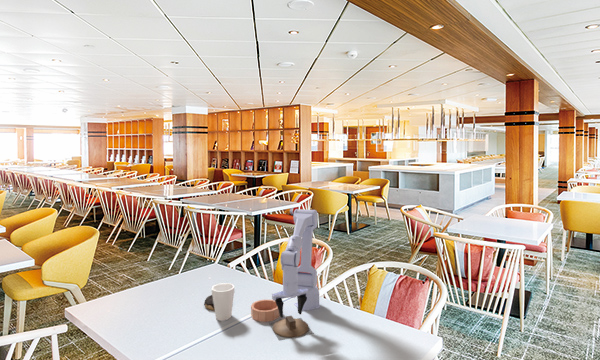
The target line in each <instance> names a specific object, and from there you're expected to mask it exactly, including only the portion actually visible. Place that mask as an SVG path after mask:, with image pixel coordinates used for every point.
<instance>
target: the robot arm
mask: <svg viewBox="0 0 600 360" xmlns="http://www.w3.org/2000/svg"><path fill="white" fill-rule="evenodd" d="M292 215H293V216H292V217H293V222H294V229H293V234H292V235H291V236H290V237H289V239H288V241H287V244H286V247H285V250H283V251H282V252H281V255H280V265H281V271H282V291H279V292H274V293H271V300H273V301H275V302H276V304H277V307H278V310H279V315H280V316H279V318H281V319H284V312H283V311H284V301H283V299H287V298H288V299H289V298H290V299H291V298H292V299H293V298H297V300H296V301H297V302H296V303H295V302H294V306H295V307H296V308H297V313H298V315H302V312H305V311H306V312H307V311H312V310H315V309H320V308H321V306H320V290H319V288H318V271H317V269H316V268H314V266H313V265H312V257H313V256H312V255H313V253H312V252H313V235H314V230H315V229H316V228H318V221H319V220H318V219H319V214H318V211H317V210H316V209H302V208H301V209H298V208H296V209H295V210H294V211H293V214H292ZM299 264H300V265H299Z"/></svg>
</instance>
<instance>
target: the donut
mask: <svg viewBox="0 0 600 360" xmlns="http://www.w3.org/2000/svg"><path fill="white" fill-rule="evenodd" d="M203 306H204V307H205V308H206V309H207V310H211V311H215V309H214V302H213V296H212V294H211V295H208V296H207V297H206V298H205V300H204V303H203Z"/></svg>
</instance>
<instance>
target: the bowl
mask: <svg viewBox="0 0 600 360" xmlns="http://www.w3.org/2000/svg"><path fill="white" fill-rule="evenodd" d="M250 316H251V318H252V320H254V321H257V322H263V323H264V322H265V323H268V322H274V321H275V320H277V319H280V315H279V310H278V307H277V304H276V302H275V300H274V301H273V299H259V300H256V301H254V302H253V303H252V304H251V305H250Z"/></svg>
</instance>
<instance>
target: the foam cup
mask: <svg viewBox="0 0 600 360" xmlns="http://www.w3.org/2000/svg"><path fill="white" fill-rule="evenodd" d="M234 294H235V285H234V284H233V283H228V282H227V283H226V282H225V283H217V284H214V285H212V287H211V295H212V296H213V302H214V309H215V310H214V313H215V315H214V316H215V318H216V320H218V321H220V322H221V321H223V322H224V321H228V319H230V318H231V317H232V313H233V312H232V311H233V305H234V298H235V297H234V296H235V295H234Z"/></svg>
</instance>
